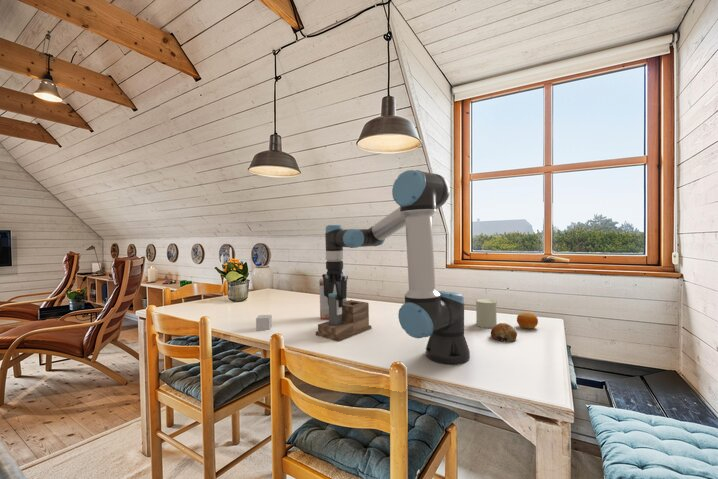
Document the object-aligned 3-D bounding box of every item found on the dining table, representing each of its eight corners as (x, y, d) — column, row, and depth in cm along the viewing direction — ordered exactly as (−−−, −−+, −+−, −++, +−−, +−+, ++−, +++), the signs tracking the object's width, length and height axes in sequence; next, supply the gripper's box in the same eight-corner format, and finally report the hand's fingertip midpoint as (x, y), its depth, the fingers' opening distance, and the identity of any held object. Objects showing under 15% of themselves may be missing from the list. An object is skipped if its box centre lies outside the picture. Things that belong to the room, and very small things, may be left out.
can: (497, 328, 149) (497, 302, 149) (476, 327, 152) (476, 301, 151) (496, 323, 158) (495, 298, 157) (475, 321, 160) (475, 297, 160)
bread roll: (519, 348, 133) (524, 329, 135) (505, 342, 128) (510, 322, 130) (497, 342, 142) (502, 324, 143) (483, 336, 137) (489, 317, 138)
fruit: (538, 317, 153) (530, 304, 151) (543, 329, 145) (535, 315, 143) (520, 324, 156) (512, 311, 154) (524, 336, 148) (516, 322, 147)
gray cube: (271, 327, 158) (271, 314, 158) (269, 330, 152) (269, 317, 152) (259, 327, 158) (258, 315, 158) (256, 331, 152) (256, 318, 152)
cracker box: (347, 316, 175) (347, 277, 175) (346, 319, 169) (346, 279, 169) (321, 316, 176) (321, 277, 176) (319, 319, 170) (319, 279, 170)
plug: (342, 324, 144) (341, 293, 143) (335, 327, 141) (335, 294, 140) (335, 323, 146) (334, 292, 146) (329, 325, 143) (328, 293, 143)
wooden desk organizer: (371, 328, 152) (371, 303, 151) (338, 341, 135) (338, 312, 135) (348, 323, 161) (348, 299, 160) (315, 335, 144) (315, 308, 144)
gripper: (354, 260, 140) (355, 314, 141) (326, 258, 151) (327, 309, 152) (343, 262, 134) (343, 318, 135) (314, 260, 145) (315, 312, 146)
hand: (335, 313), depth 143 cm, fingers closed on plug, 4 cm apart
